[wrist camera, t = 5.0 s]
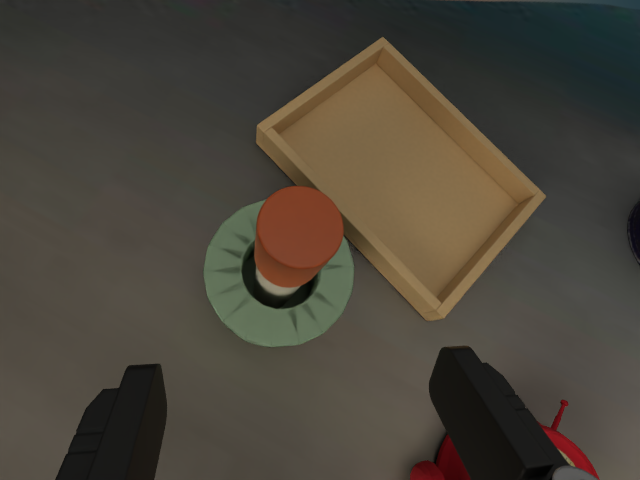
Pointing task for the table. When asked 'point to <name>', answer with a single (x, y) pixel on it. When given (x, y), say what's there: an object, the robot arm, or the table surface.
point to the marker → (293, 241)
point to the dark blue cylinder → (635, 231)
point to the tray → (403, 175)
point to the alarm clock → (452, 476)
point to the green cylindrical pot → (260, 320)
